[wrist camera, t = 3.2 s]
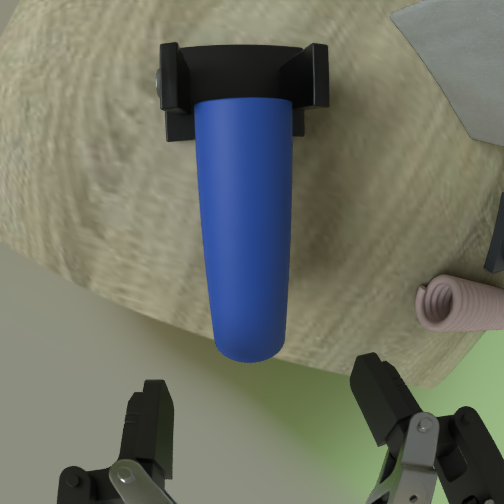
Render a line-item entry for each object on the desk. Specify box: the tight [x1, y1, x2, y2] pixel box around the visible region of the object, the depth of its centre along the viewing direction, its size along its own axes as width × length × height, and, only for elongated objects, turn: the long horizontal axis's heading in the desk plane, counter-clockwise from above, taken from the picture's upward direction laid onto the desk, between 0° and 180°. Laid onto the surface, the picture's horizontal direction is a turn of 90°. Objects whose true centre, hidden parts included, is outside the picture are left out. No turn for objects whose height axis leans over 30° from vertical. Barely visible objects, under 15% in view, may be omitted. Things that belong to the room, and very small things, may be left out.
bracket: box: [156, 42, 329, 142], centre depth 10 cm, size 5×7×6 cm
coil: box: [415, 275, 504, 332], centre depth 20 cm, size 5×5×18 cm
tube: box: [194, 98, 292, 363], centre depth 12 cm, size 11×4×4 cm, turn 1°
